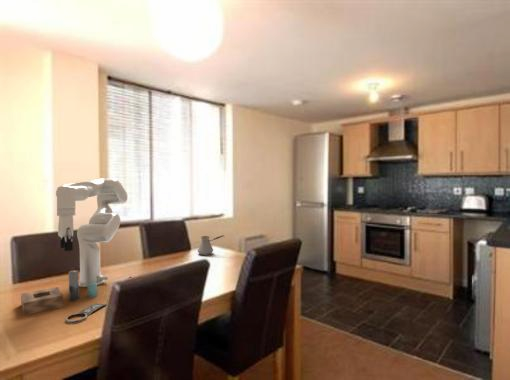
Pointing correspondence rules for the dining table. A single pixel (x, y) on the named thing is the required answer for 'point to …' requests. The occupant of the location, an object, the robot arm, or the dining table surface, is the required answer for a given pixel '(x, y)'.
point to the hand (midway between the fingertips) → (66, 249)
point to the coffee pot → (206, 245)
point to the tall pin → (73, 285)
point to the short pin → (92, 289)
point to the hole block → (41, 300)
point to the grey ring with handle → (84, 313)
